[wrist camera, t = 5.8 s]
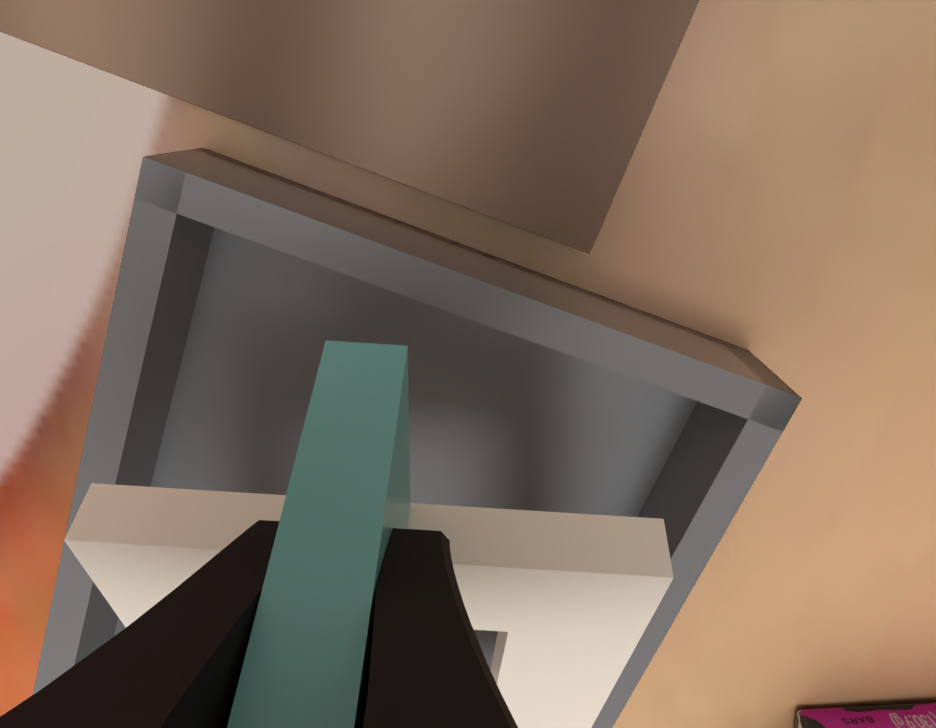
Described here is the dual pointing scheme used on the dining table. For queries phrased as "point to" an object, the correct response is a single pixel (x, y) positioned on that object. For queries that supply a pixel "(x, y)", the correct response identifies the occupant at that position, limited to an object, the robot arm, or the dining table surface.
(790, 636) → the dining table surface
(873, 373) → the dining table surface
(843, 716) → the candy bar box
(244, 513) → the cream ring
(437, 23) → the walnut plate
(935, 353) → the dining table surface
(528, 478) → the charcoal tray
